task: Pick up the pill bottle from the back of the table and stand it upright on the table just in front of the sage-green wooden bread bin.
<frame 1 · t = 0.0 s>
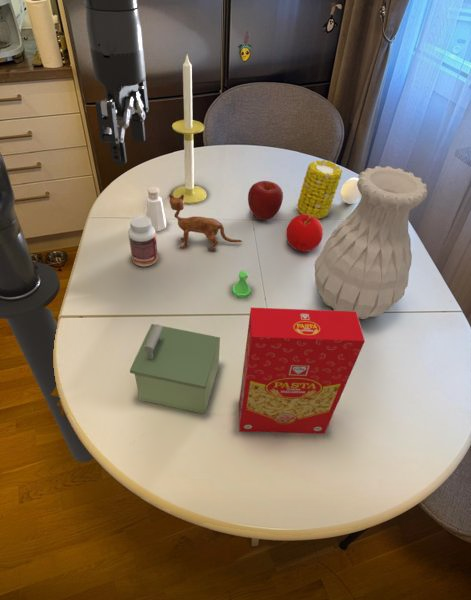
hand: (129, 151, 71), 33 cm above the table, tool pointing down, fingers open, 8 cm apart
apple: (263, 216, 118), on the table
bread bin lid: (176, 348, 70), point 10 cm above the table, hinge at 0.0°
candle: (189, 195, 124), on the table
pepper shaker: (156, 226, 112), on the table
egg: (348, 203, 126), on the table
game piece: (241, 292, 96), on the table
vase: (350, 300, 96), on the table
food packaging: (280, 419, 73), on the table
pill bottle: (145, 259, 102), on the table
cat figurine: (207, 244, 108), on the table
food: (313, 211, 122), on the table
bread bin: (180, 382, 77), on the table
fruit: (301, 247, 109), on the table
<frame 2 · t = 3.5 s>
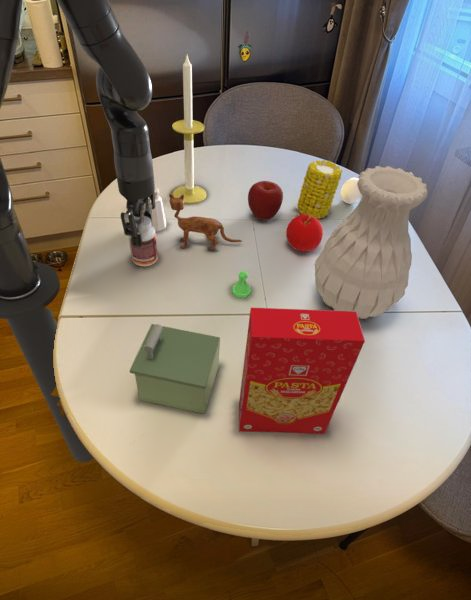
hand: (142, 237, 97), 7 cm above the table, tool pointing down, fingers closed on pill bottle, 6 cm apart
pill bottle: (145, 259, 102), on the table, touching gripper
everything else where it was.
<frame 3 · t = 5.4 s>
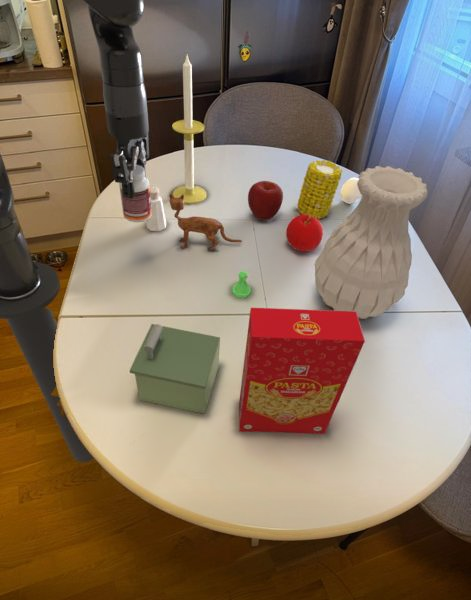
hand: (135, 188, 88), 19 cm above the table, tool pointing down, fingers closed on pill bottle, 6 cm apart
pill bottle: (137, 216, 93), point 13 cm above the table, touching gripper
everything else where it was.
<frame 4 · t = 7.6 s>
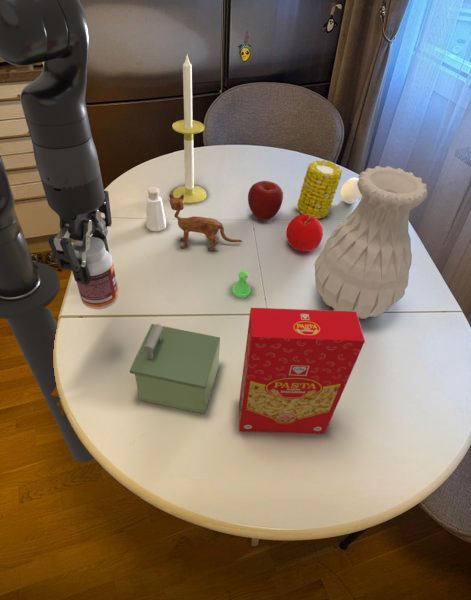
hand: (93, 267, 66), 22 cm above the table, tool pointing down, fingers closed on pill bottle, 6 cm apart
pill bottle: (100, 298, 71), point 15 cm above the table, touching gripper
everything else where it was.
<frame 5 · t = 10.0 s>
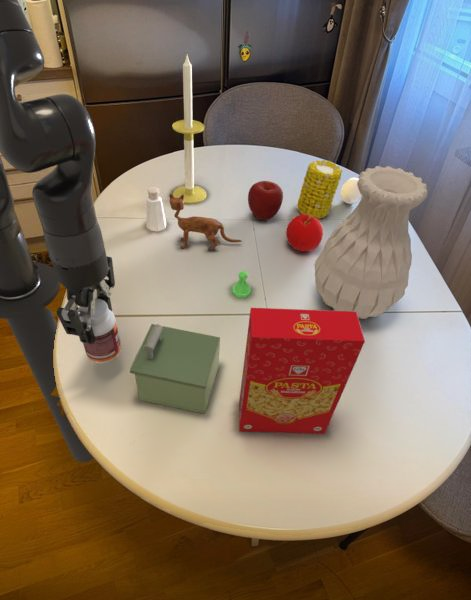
hand: (97, 326, 71), 12 cm above the table, tool pointing down, fingers closed on pill bottle, 6 cm apart
pill bottle: (104, 351, 76), point 5 cm above the table, touching gripper
everything else where it was.
when the fingers open (7 cm above the table, at t = 11.8 s): pill bottle stays where it is, on the table.
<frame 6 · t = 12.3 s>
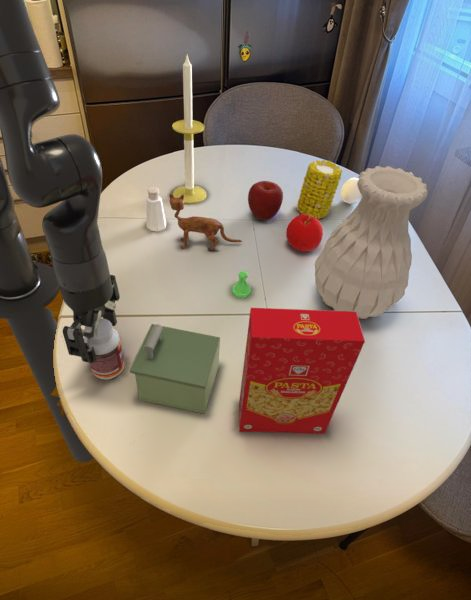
hand: (100, 341, 74), 7 cm above the table, tool pointing down, fingers open, 8 cm apart
pill bottle: (108, 367, 79), on the table
everything else where it was.
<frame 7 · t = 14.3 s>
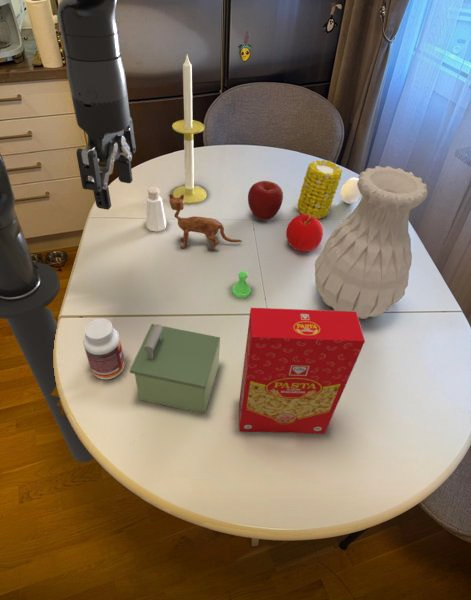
hand: (115, 194, 69), 29 cm above the table, tool pointing down, fingers open, 8 cm apart
nothing on the table moved.
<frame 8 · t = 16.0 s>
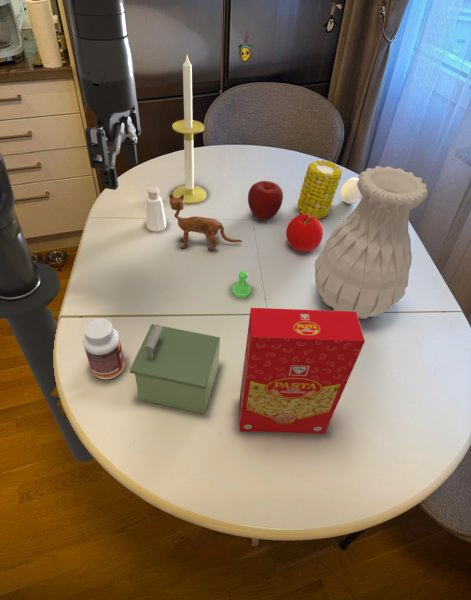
hand: (121, 175, 70), 30 cm above the table, tool pointing down, fingers open, 8 cm apart
nothing on the table moved.
at the end: pill bottle inside the target area on the table beside the bread bin (0.2 cm from its centre), on the table; pill bottle tilted 0°; the gripper is holding nothing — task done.
